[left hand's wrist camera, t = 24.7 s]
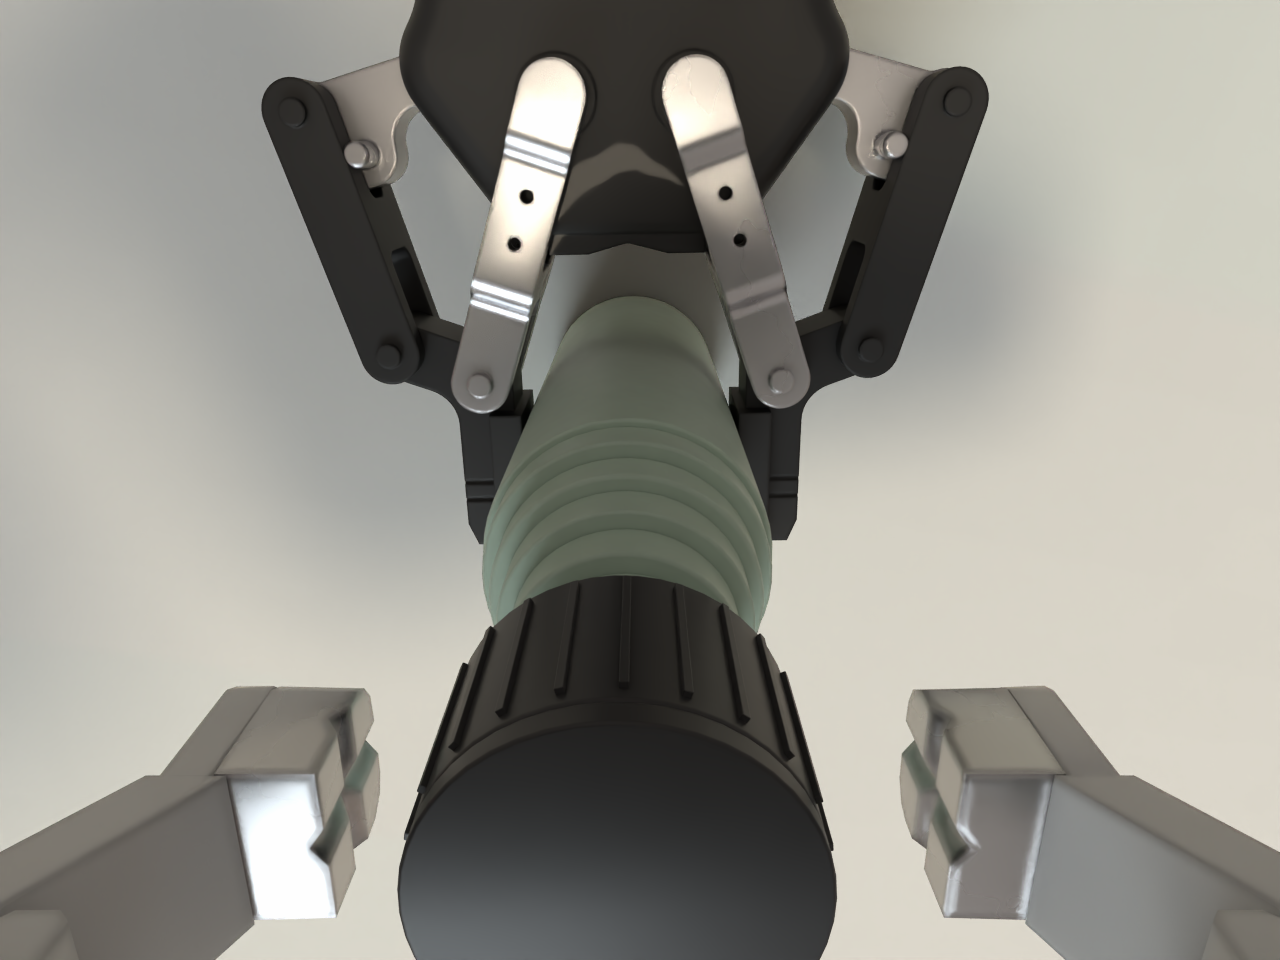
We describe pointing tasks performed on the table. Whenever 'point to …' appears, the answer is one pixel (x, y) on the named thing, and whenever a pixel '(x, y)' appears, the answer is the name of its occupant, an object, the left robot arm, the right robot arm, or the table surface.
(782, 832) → the cap
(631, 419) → the bottle
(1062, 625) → the table surface
